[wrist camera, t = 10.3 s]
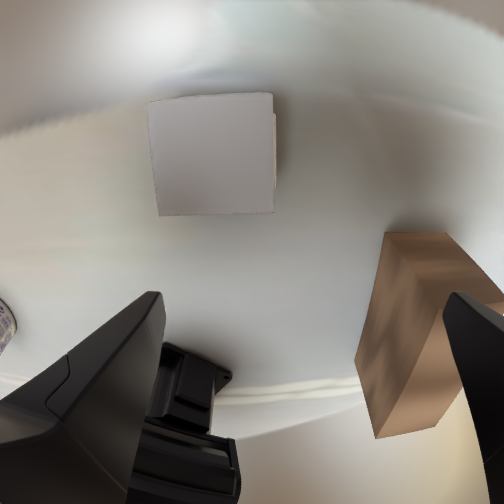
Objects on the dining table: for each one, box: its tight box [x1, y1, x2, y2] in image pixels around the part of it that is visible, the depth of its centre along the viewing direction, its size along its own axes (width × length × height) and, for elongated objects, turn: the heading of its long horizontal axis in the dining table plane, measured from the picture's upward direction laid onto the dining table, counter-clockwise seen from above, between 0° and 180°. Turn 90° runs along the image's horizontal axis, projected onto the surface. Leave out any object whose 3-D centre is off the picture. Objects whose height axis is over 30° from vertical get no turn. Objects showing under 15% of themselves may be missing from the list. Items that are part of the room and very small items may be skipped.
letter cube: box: [146, 92, 276, 216], centre depth 15 cm, size 5×5×5 cm
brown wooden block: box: [354, 232, 504, 439], centre depth 19 cm, size 12×5×8 cm, turn 1°
